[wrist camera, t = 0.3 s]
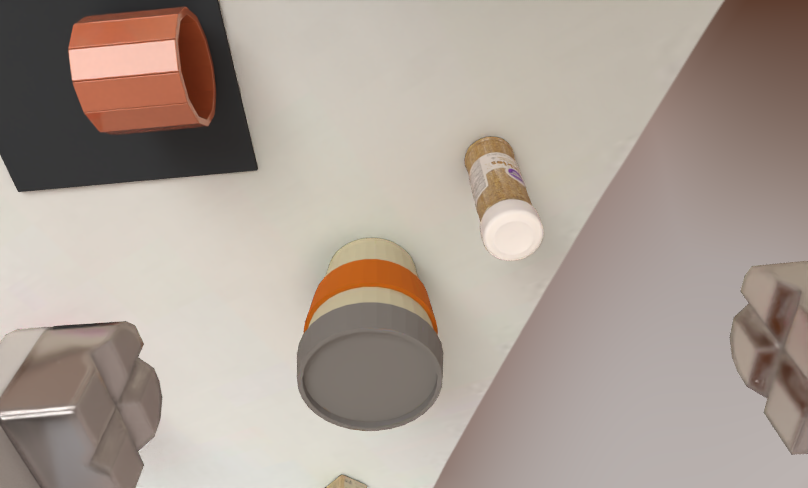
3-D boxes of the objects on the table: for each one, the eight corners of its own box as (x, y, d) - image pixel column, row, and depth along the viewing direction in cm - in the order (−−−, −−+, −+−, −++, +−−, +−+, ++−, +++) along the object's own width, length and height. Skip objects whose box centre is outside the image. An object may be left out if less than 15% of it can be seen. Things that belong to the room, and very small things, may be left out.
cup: (100, 5, 50) (54, 36, 42) (196, -4, 49) (165, 26, 42) (135, 109, 54) (98, 152, 47) (222, 100, 54) (199, 143, 47)
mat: (-107, -75, 46) (-110, -74, 46) (193, -105, 46) (192, -104, 46) (20, 190, 59) (18, 192, 58) (257, 168, 58) (257, 170, 58)
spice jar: (521, 144, 58) (556, 222, 46) (499, 185, 60) (527, 270, 49) (475, 127, 57) (499, 203, 45) (455, 170, 59) (472, 253, 48)
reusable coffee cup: (284, 267, 64) (261, 375, 52) (380, 199, 60) (380, 298, 48) (365, 339, 70) (361, 452, 58) (457, 280, 66) (475, 388, 53)
